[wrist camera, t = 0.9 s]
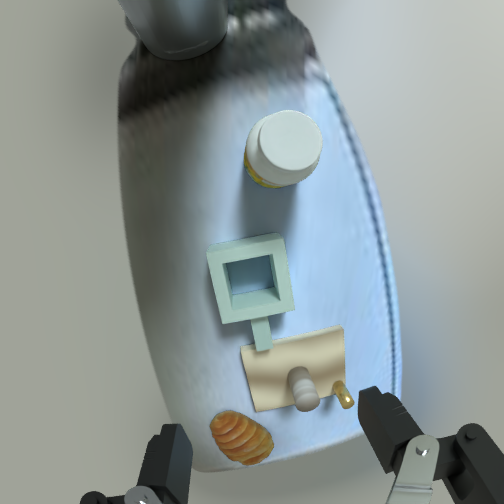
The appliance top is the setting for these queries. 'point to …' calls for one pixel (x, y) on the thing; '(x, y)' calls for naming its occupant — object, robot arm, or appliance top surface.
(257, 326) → the pale green hollow block
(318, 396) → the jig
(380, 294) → the appliance top surface
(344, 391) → the pin
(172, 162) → the appliance top surface
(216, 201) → the appliance top surface
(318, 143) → the supplement bottle
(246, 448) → the pastry
